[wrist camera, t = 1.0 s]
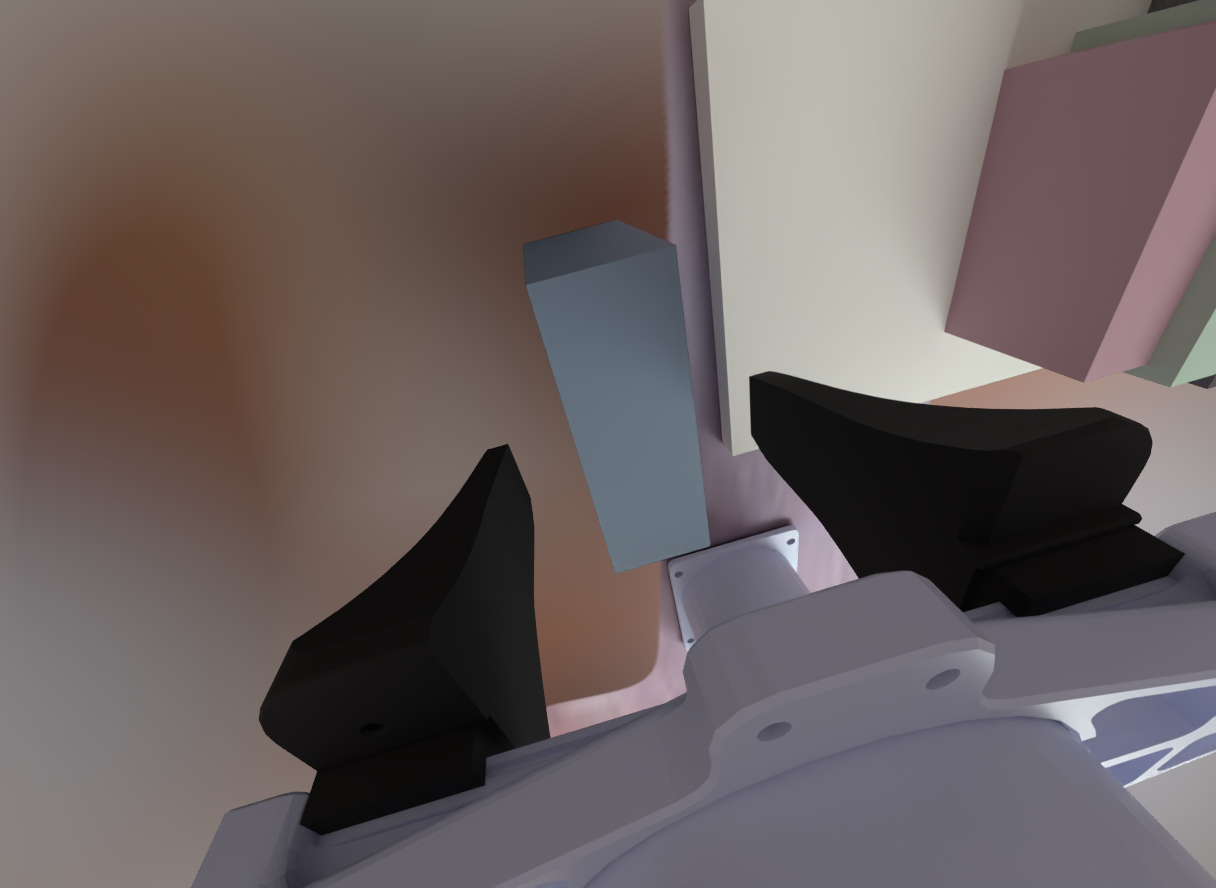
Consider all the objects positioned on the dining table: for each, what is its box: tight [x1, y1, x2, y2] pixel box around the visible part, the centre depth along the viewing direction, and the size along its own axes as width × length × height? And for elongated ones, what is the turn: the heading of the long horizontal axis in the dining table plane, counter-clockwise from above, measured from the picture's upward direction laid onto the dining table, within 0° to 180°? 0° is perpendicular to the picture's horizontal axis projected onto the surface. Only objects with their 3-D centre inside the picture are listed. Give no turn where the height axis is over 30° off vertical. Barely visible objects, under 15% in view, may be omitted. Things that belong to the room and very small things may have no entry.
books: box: [944, 0, 1216, 387], centre depth 14 cm, size 10×5×6 cm, turn 12°
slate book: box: [523, 220, 710, 573], centre depth 15 cm, size 10×4×7 cm, turn 12°
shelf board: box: [689, 0, 1152, 456], centre depth 17 cm, size 16×16×1 cm
